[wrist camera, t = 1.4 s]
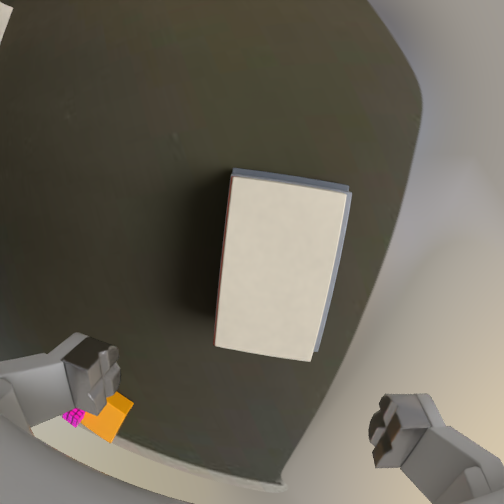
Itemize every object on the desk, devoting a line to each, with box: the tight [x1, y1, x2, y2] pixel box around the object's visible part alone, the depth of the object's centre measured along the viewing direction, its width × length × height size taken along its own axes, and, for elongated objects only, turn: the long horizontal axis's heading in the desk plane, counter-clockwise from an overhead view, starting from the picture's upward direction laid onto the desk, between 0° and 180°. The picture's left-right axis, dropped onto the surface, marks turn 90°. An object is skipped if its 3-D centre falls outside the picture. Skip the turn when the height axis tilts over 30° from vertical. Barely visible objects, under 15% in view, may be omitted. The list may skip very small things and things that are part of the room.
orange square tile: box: [62, 391, 134, 443], centre depth 28 cm, size 8×8×4 cm
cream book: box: [213, 176, 347, 362], centre depth 19 cm, size 11×7×2 cm, turn 173°
